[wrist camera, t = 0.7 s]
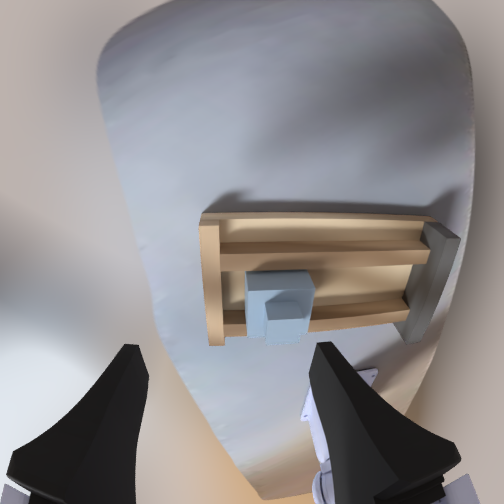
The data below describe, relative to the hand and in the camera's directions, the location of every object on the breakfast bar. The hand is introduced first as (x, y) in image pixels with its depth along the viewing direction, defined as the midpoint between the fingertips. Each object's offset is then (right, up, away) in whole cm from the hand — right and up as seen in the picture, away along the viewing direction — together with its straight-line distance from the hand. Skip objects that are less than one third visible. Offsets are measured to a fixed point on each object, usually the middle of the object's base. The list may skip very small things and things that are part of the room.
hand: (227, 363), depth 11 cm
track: (+7, +3, +11) cm, 13 cm away
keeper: (+2, +2, +9) cm, 10 cm away
